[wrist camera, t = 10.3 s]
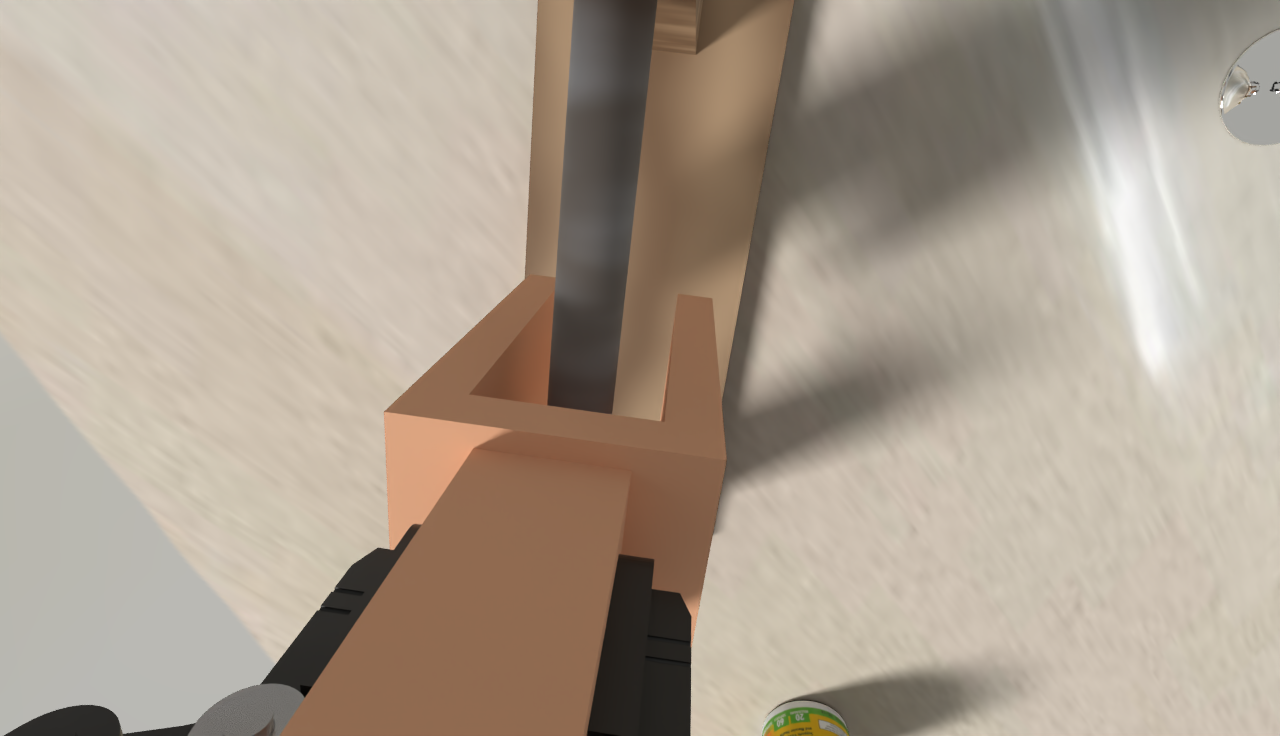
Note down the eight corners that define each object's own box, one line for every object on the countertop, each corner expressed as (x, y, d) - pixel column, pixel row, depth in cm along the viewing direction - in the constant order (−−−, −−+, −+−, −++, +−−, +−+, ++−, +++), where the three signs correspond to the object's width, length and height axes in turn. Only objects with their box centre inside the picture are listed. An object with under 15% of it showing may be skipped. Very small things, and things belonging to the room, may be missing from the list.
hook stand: (519, 517, 36) (369, 858, 20) (549, -57, 26) (281, -374, 9) (693, 542, 36) (691, 911, 19) (795, -28, 25) (985, -302, 9)
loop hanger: (523, 402, 24) (184, 964, 8) (530, 274, 22) (106, 674, 6) (691, 426, 24) (681, 1051, 8) (712, 298, 22) (755, 777, 6)
